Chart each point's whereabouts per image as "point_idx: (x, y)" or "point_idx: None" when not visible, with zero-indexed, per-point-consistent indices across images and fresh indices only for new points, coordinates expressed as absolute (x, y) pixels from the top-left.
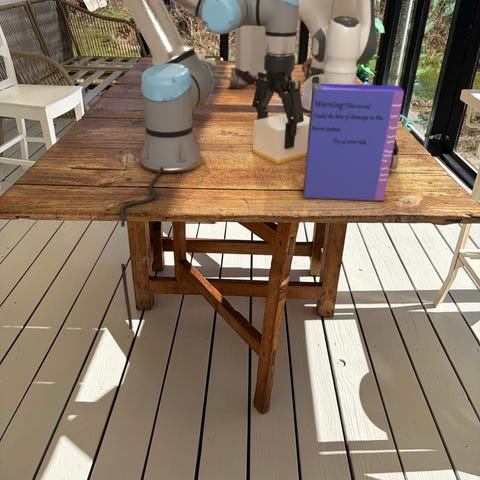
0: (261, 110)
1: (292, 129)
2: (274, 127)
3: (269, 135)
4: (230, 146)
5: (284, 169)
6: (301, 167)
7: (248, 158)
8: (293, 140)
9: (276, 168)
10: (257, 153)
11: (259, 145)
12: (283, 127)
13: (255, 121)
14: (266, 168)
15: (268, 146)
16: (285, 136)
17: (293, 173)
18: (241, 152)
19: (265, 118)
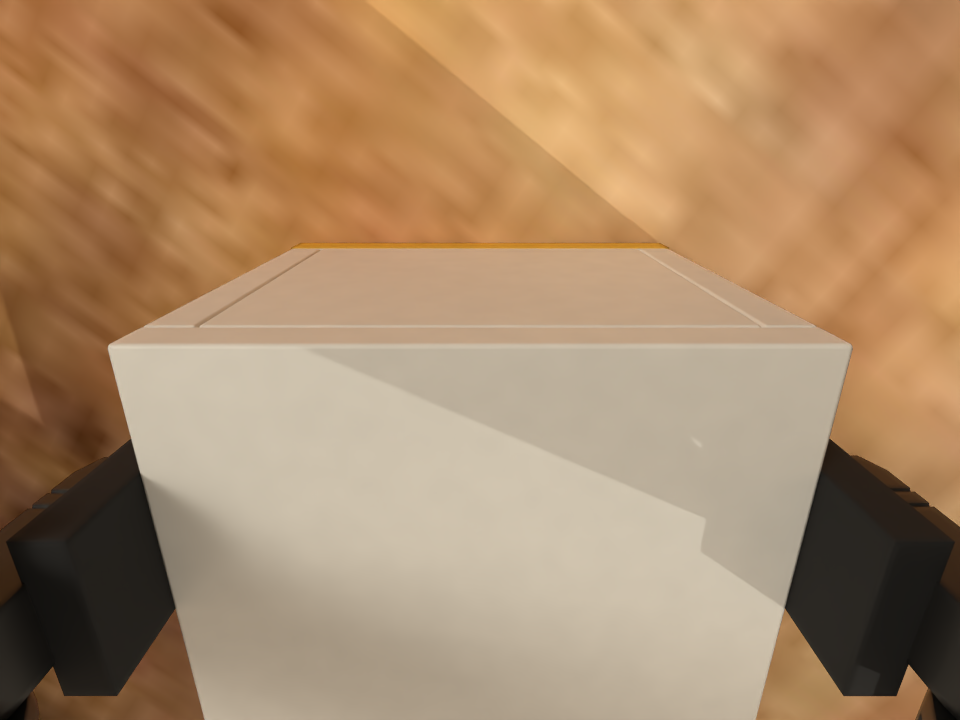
0: (953, 629)
1: (8, 525)
2: (305, 393)
3: (391, 301)
4: (927, 149)
5: (161, 213)
6: None
7: (558, 96)
8: None
9: (211, 166)
10: (588, 243)
11: (577, 260)
12: (237, 505)
13: (796, 340)
14: (252, 81)
15: (419, 267)
16: None
17: (50, 219)
18: (726, 140)
19: (775, 557)
